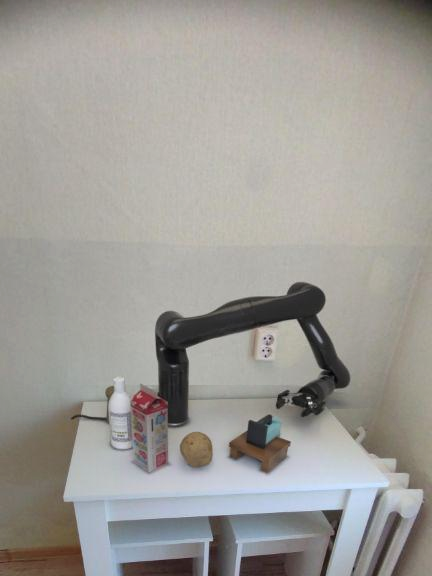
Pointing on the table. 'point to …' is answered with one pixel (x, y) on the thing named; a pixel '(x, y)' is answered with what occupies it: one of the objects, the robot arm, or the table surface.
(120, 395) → the bath foam
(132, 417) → the milk carton
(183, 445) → the natural sponge
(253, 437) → the iron
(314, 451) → the table surface
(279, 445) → the stand
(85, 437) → the table surface
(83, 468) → the table surface
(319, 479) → the table surface
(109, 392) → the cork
